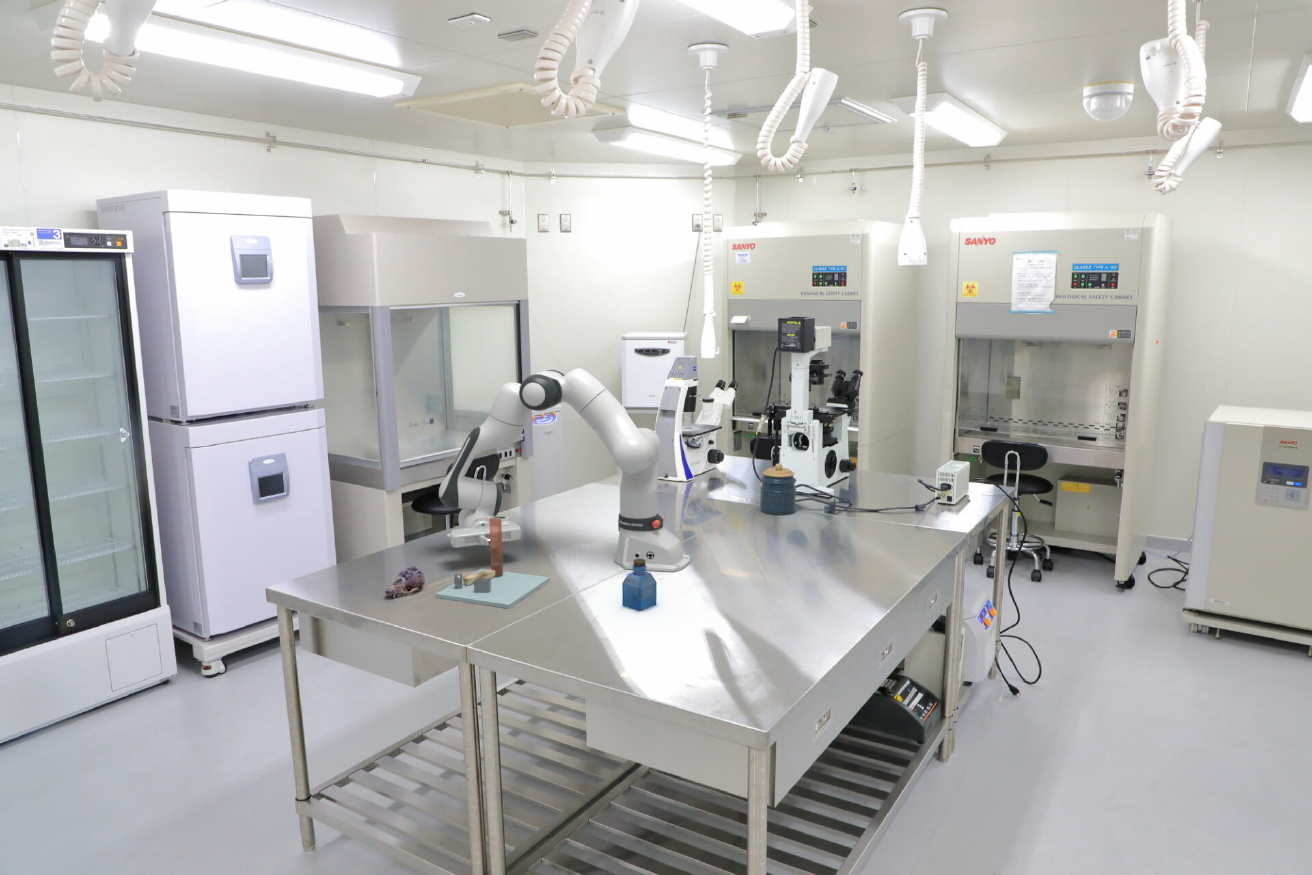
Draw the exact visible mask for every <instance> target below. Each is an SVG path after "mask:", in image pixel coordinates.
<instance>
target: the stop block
mask: <svg viewBox="0 0 1312 875" xmlns="http://www.w3.org/2000/svg"><path fill="white" fill-rule="evenodd" d="M490 591H491V579H475V581H474V593H490Z"/></svg>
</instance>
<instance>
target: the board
mask: <svg viewBox="0 0 1312 875" xmlns="http://www.w3.org/2000/svg"><path fill="white" fill-rule="evenodd" d="M490 569H491V568H480V569H478V570H476V571H473V572H472V573H471V574H469V575H468V576H470V575H474V574H477V573H480V572H483V571H487V570H490ZM489 579H491V591H490V593H474V583H473V584H470V585H465V584H463V578H462V588H461V589H455V582H453V584H451V585H448V586H447V587H445V588H444V589H442V590H440V591H438V592H436V593H435V597H436V598H438V599H445V600H452V601H455V602H456V601H457V602H458V601H459V602H465V603H472V604H477V605H485V606H490V607H497V608H503V609H511V608H512V607H514V606H515V605H517V604H519V603H520V602H521V601H523V600H524V599H526V598H528V596H530V595H532V594H534V593H535V592H536V591H537V590H539V589H540V588H542V587H544V586H545V585H546V584H548V583H549V582H551V578H550V577H549V576H540V575H535V574H534V575H533V574H528V573H527V574H526V573H519V572H518V573H517V572H513V571H512V572H511V571H504V570H503V575H501V576H495V577H492V578H489Z"/></svg>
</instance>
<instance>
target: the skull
mask: <svg viewBox="0 0 1312 875" xmlns="http://www.w3.org/2000/svg"><path fill="white" fill-rule="evenodd" d="M424 574H425V573H424V571H423V570H422V568H420V567H419V566H416V565H415V566H411V567H408V568H403V569H402V570H400V572H399V573H398V575H397V577H396V579H395V581H393V583H392V584H391V585H390V586H389V587H387V588H386V589H385V593H384V594H385V596H387V595H388V596H389V597H392V596H393V598H394V599H395V597H396V596H397V598H401V596H402V597H405V596H407V595H409V594H412V593H413V592H419V591H421V590H422V589H423V587H424V585H425V580H426V579H425V575H424ZM408 589H409V590H410V589H411V590H410V591H408Z"/></svg>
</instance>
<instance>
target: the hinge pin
mask: <svg viewBox="0 0 1312 875" xmlns="http://www.w3.org/2000/svg"><path fill="white" fill-rule="evenodd" d="M462 579H463V574H461V573H455V574H454V577H453V581H454V583H455V589H461V588H462Z"/></svg>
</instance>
